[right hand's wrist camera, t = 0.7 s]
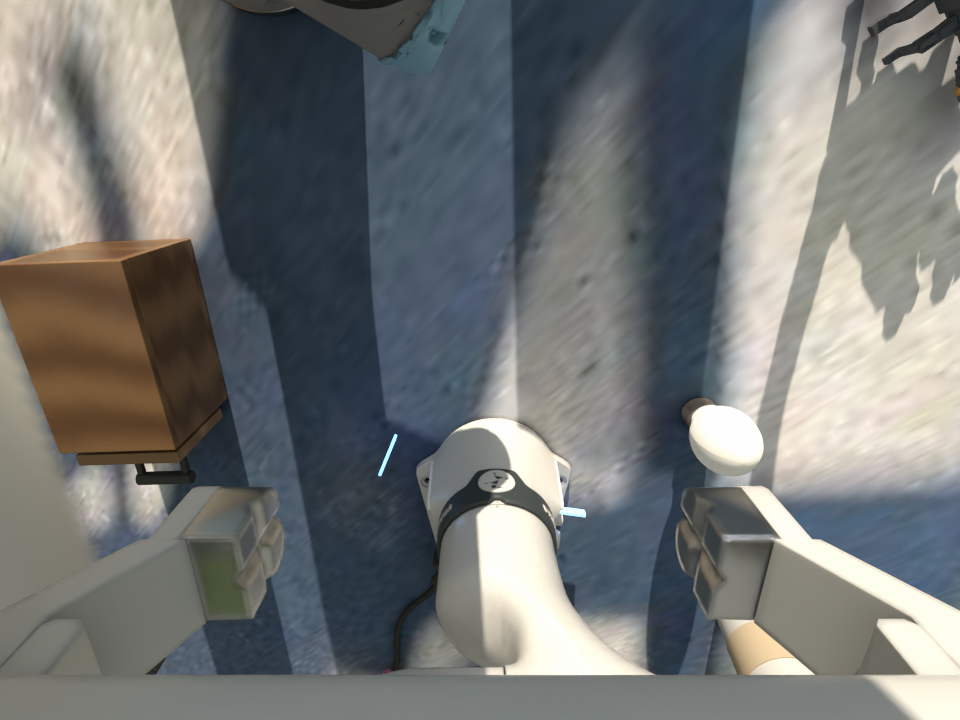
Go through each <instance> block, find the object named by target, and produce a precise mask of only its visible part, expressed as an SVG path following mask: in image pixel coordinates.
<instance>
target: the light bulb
mask: <svg viewBox="0 0 960 720" xmlns="http://www.w3.org/2000/svg"><path fill="white" fill-rule="evenodd" d="M682 418H683V420H684V422H685V423H686V424H687V426H688V427H689V428H690V430H689V440H690V445H691V448H692V450H693V452H694V454H695V455H696V457H697V458H698V459H699V461H700V462H701V463H702V464H703V465H704V466H706V467H707V468H709V469H710V470H712V471H713V472H716V473H719V474H721V475H726V476H740V475H743V474H746V473H748V472H750V471H751V470H753V469H754V468H755V467H756V466H757V465H758V463H759V462H760V460H761V458H762V454H763V439H762V435H761V433H760V431H759V429H758V427H757V426H756V424H755V423H754V422H753V421H752V420H751V419H750V418H749V417H748V416H747V415H745V414H744V413H742V412H741V411H739V410H737V409H734V408H731V407H726V406H716V405H715V404H714V402H712V401H711V400H709V399H706V398H696V399H693V400H691V401H689V402H688V403H687V404H686V405H685V406H684V407H683V409H682Z"/></svg>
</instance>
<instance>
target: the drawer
mask: <svg viewBox="0 0 960 720" xmlns="http://www.w3.org/2000/svg"><path fill="white" fill-rule="evenodd" d="M222 417H223V416H222V412H221V408H217V409H216V410H215V411H214V412H213V413H212V414H211V415H210V416H209V417H208V418H207V419H206V420H205V421H204V422H203V423H202V424H201V425H200V426H199V427H198V428H197V429H196V430H195V431H194V432H193V433H192V434H191V435H190V436H189V437H188V438H187V439H186V440H185V441H184V442H183V443H182V444H181V445H179V446H178V447H177V448H176V449H175V450H153V451H120V452H88V453H78V454H77V455H76V457H77V460H78V462H79V465H112V464H135V466H136V470H137V473H138V474H137V475H136V483H137V484H138V485H154V484H188V483H193V482H194V481H195V478H196V474H195V471H193V470H190V467H189V463H188V460H187V456H186V455H187V454H188V453H189V452H190V451H191V450H192V449H193V448H194V447H195V446H196V445H197V444H198V443H199V441H200V440H201V439H202V438H203V437H204V436H205V435H206V434H207V433H208V432H209V431H210V430H211V429H212V428H213V427H214V426H215V425H216V424H217V423H218V422H219V421H220V420H221V418H222ZM177 462H180V465H181V469H182V471H155V472H146V469H145V466H144V463H177Z"/></svg>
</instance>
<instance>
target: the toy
mask: <svg viewBox="0 0 960 720" xmlns="http://www.w3.org/2000/svg"><path fill="white" fill-rule="evenodd" d="M932 2H935V5H936V7H937V10H938V12H939V14H942V13H945V15H946V18H947V19H945V20H944V21H943V22H942V23H940V24H939V25H938V26H936V27H935V28H934V29H933V30H931V31H929V32H928V33H926V34H925V35H923V36H922V37H920V38H918V39H917V40H915V41H914V42H912V44H909V45H906V46H903V47H899V48H896V49H895V50H894V51H892V52H891V53H890V54H888V55H887V56H886V57H884V58H883V59H882V61H883V63H884V65H887V64H890V63H891V62H893V61H894V60H896V59H898V58H899V57H902V56H906V55H910V54H914V53H924V52H926V51H927V50H929V49H930V48H932V47H933V46H935V45H936V44H938V43H939V42H940V41H942V40H943V39H945V38H946V37H948V36H949V35H951V34H952V33H953V32H954V34H955V36H958V39H959V42H960V0H914V1H913V2H911V3H910V4H908V5H907V6H905V7H904V8H903V9H901V10H900V11H898V12H895V13H892V14H888V15H886V16H883V17H881V18H879V19H878V20H877V21H875V22H874V23H873V24H871V25H870V26H869V27H868V30H869V33H870V35H871V36H875V35H877V34H878V33H880V32H881V31H883V30H884V29H886V28H887V27H889V26H891V25H893V24H896V23H899V22H903V21H905V20H908V19H910V18H912V17H914V16H915V15H916V14H918V13H919V12H920V11H922V10H923V9H924V8H926V7H927V6H928V5H930V4H931V3H932ZM957 58H958V60H957V61H956V62H955V63H956V64H957V69H956V70H955V75H956V80H955V81H956V89H955V90H954V92H955V94H956V96H957V99H958V101H959V102H960V56H958V57H957Z"/></svg>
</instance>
